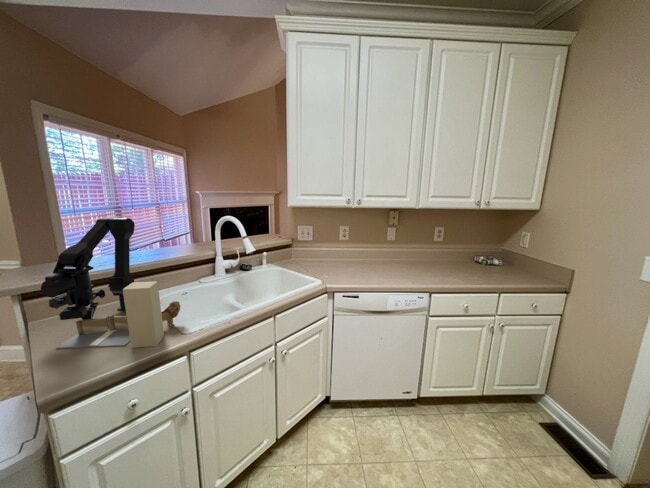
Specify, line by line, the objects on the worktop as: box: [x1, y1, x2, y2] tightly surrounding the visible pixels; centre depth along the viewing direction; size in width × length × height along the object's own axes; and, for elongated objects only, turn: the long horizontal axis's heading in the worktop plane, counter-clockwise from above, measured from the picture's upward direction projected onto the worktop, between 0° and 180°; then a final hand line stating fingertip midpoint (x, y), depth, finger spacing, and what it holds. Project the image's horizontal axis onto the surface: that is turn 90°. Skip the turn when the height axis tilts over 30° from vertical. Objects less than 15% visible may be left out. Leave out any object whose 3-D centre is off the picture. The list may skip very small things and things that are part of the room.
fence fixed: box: [106, 314, 129, 331], centre depth 100 cm, size 2×11×6 cm, turn 95°
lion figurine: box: [161, 300, 181, 328], centre depth 101 cm, size 15×5×9 cm, turn 138°
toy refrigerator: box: [123, 280, 165, 349], centre depth 92 cm, size 8×7×21 cm
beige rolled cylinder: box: [75, 316, 109, 335], centre depth 97 cm, size 2×9×5 cm, turn 111°
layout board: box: [56, 324, 131, 350], centre depth 99 cm, size 18×22×1 cm
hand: (88, 324), depth 99 cm, fingers closed
